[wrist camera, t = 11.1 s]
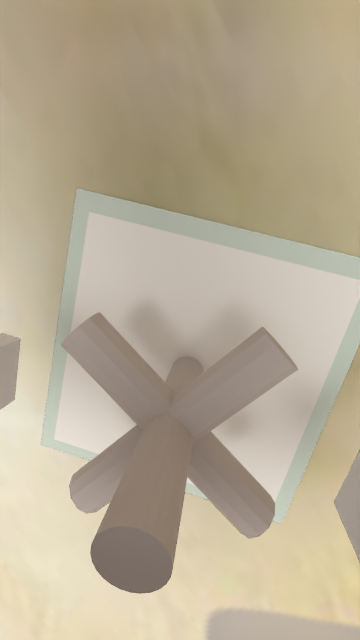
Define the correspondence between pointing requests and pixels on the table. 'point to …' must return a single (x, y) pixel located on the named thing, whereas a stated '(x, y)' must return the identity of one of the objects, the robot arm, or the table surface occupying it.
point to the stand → (204, 327)
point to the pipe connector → (168, 449)
